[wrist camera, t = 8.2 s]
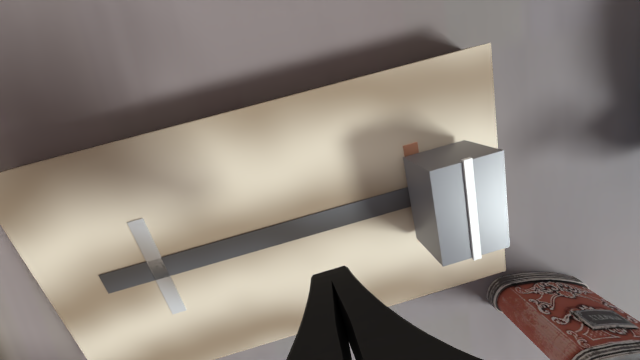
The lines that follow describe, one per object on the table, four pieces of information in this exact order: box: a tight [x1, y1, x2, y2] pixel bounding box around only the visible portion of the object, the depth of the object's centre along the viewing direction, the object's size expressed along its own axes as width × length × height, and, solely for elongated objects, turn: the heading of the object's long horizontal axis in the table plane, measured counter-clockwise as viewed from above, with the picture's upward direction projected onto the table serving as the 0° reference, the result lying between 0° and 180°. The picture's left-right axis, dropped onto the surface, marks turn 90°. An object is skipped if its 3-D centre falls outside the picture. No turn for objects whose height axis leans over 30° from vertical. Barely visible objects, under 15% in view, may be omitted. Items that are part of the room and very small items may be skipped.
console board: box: [0, 43, 506, 360], centre depth 18 cm, size 14×26×3 cm, turn 104°
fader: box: [403, 140, 510, 267], centre depth 15 cm, size 5×4×3 cm
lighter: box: [487, 272, 640, 360], centre depth 19 cm, size 8×3×10 cm, turn 85°
